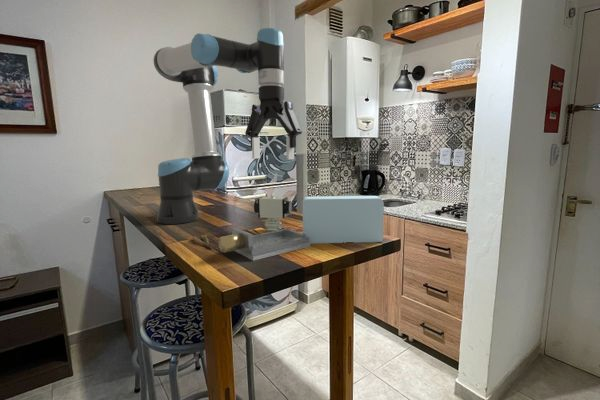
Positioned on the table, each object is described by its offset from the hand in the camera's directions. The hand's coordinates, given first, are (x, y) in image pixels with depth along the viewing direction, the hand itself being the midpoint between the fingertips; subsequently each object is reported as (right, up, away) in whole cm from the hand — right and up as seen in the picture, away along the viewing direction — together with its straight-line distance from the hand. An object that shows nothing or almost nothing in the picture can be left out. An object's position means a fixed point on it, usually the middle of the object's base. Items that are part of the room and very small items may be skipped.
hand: (272, 159), depth 100 cm
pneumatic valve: (0, -23, +9) cm, 24 cm away
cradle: (-2, -26, -12) cm, 29 cm away
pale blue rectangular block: (+21, -25, -4) cm, 32 cm away
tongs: (-19, -26, -6) cm, 32 cm away
